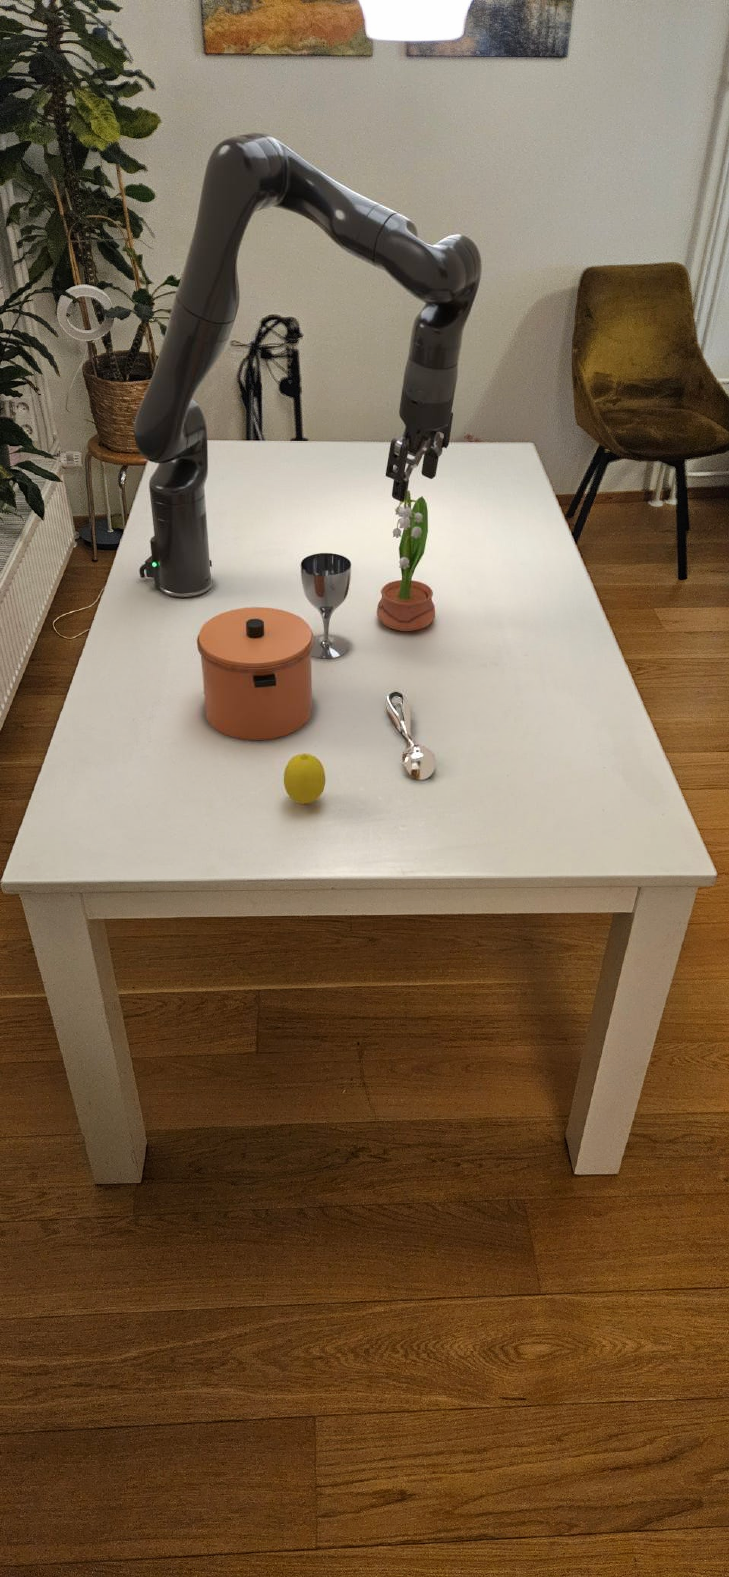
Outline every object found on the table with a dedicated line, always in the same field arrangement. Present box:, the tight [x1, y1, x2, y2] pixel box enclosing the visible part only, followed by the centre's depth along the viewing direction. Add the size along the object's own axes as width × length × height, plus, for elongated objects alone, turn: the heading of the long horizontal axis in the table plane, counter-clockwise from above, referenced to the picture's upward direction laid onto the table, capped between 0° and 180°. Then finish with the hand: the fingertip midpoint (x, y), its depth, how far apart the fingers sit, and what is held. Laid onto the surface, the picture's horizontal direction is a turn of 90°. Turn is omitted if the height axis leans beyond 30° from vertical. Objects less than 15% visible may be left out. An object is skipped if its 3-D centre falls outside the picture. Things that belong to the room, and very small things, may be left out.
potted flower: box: [376, 490, 436, 632], centre depth 180 cm, size 12×10×25 cm
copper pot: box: [196, 606, 315, 741], centre depth 161 cm, size 17×19×15 cm
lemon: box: [283, 753, 326, 805], centre depth 146 cm, size 6×6×8 cm
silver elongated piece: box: [385, 691, 437, 781], centre depth 159 cm, size 20×4×5 cm
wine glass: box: [300, 552, 352, 660], centre depth 176 cm, size 8×8×15 cm
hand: (413, 487), depth 168 cm, fingers open, 8 cm apart
